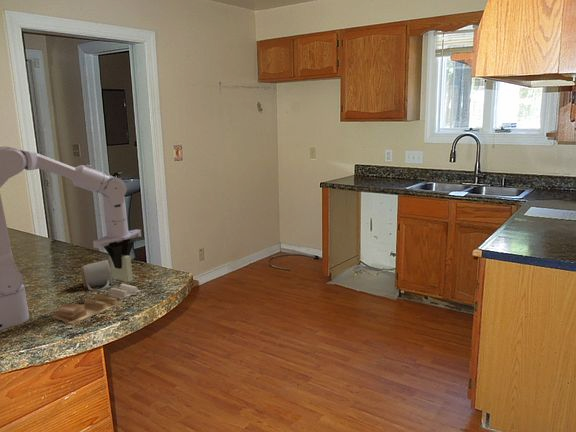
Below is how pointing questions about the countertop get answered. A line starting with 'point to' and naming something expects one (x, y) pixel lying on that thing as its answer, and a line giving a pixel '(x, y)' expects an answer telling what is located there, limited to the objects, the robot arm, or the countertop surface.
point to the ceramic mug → (96, 275)
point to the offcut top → (71, 309)
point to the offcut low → (72, 317)
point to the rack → (93, 306)
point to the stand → (123, 291)
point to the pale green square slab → (122, 269)
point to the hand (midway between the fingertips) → (121, 266)
